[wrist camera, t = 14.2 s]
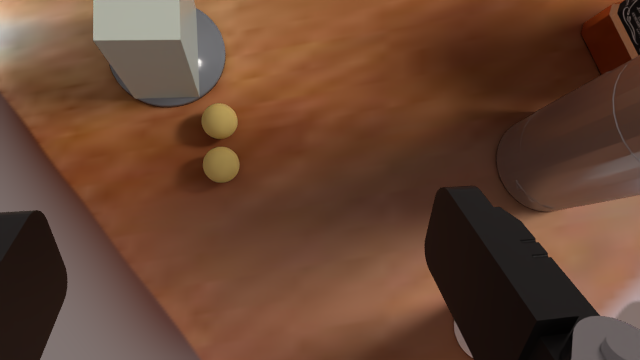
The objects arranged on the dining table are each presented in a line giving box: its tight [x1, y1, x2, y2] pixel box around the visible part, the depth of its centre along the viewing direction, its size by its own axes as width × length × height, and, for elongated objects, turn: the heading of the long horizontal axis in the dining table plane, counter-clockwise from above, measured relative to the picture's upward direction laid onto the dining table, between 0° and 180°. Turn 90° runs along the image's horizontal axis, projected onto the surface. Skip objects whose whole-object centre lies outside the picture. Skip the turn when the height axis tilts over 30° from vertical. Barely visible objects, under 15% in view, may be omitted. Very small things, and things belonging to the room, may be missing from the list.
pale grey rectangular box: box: [93, 0, 200, 99], centre depth 34 cm, size 8×5×10 cm, turn 5°
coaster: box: [109, 8, 225, 107], centre depth 39 cm, size 10×10×1 cm
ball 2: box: [203, 147, 240, 183], centre depth 37 cm, size 3×3×3 cm
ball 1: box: [201, 103, 238, 139], centre depth 38 cm, size 3×3×3 cm
